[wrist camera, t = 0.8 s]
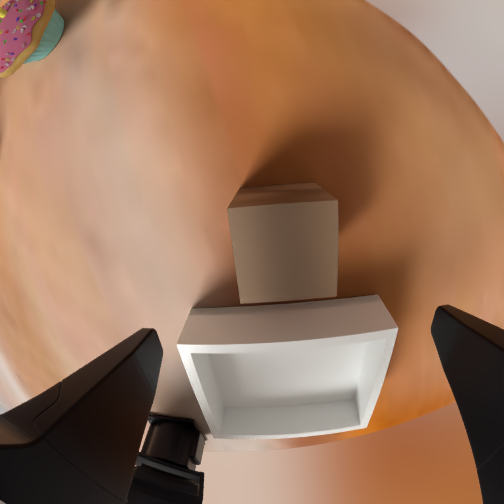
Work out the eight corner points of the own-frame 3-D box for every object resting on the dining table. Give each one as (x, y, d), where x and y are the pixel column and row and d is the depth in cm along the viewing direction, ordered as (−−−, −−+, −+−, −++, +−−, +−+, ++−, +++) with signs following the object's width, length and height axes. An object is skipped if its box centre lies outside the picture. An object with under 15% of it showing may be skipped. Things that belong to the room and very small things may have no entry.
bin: (219, 404, 26) (213, 437, 22) (191, 308, 21) (176, 344, 17) (357, 395, 25) (366, 427, 21) (377, 294, 20) (398, 327, 16)
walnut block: (248, 257, 20) (240, 303, 14) (239, 188, 18) (227, 208, 12) (318, 252, 19) (336, 296, 14) (315, 182, 17) (337, 200, 12)
